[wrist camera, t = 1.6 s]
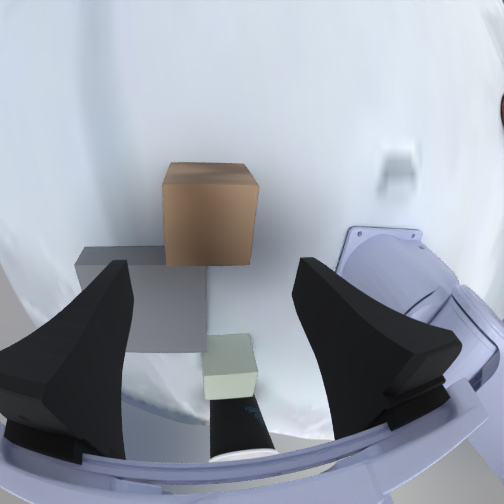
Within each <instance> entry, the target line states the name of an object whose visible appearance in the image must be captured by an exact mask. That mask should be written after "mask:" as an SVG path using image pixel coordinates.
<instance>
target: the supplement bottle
mask: <svg viewBox="0 0 504 504" xmlns="http://www.w3.org/2000/svg"><path fill="white" fill-rule="evenodd" d="M502 118H503V123H504V99H503V104H502Z"/></svg>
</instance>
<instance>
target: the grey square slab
mask: <svg viewBox="0 0 504 504" xmlns="http://www.w3.org/2000/svg"><path fill="white" fill-rule="evenodd" d="M112 260H127V263H128V269H129V274H130V280H131V285H132V290H133V295H134V307H133V317H132V323H131V328H130V332H129V337H128V342H127V347H126V352H137V353H197V352H207V336H206V266H166V253H165V246H115V247H84V249H83V251H82V253H81V254H80V256H79V258H78V260H77V261H76V263H75V265H74V266H75V269H76V273H77V276H78V279H79V283H80V286H81V289H82V291H83V290H84V289H85V288H86V287H87V286H88V285H89V284H90V283H91V282H92V281H93V280H94V279H95V278H96V277H97V276H98V275H99V274H100V273H101V272H102V270H103V269H104V268H105V267H106V266H107V265H108V264H109V263H110V262H111V261H112Z"/></svg>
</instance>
